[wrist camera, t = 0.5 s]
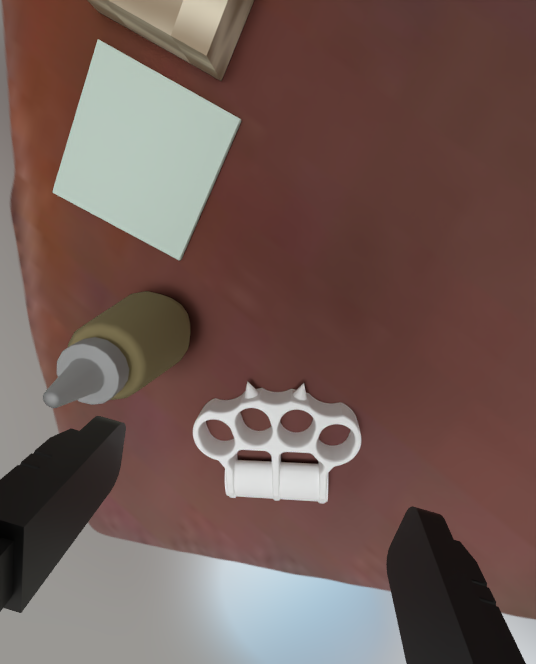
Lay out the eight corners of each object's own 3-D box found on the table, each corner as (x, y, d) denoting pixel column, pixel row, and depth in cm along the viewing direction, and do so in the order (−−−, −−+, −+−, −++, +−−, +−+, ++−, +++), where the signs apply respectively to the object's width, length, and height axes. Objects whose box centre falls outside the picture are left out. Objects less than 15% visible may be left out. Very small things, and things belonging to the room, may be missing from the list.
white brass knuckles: (206, 482, 45) (197, 373, 41) (353, 491, 43) (360, 377, 39) (198, 502, 42) (187, 386, 38) (357, 512, 40) (364, 391, 36)
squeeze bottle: (124, 283, 38) (-25, 332, 21) (199, 286, 37) (108, 338, 20) (131, 355, 40) (2, 452, 23) (202, 359, 40) (122, 462, 23)
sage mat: (101, 42, 32) (97, 39, 31) (241, 120, 33) (240, 119, 32) (56, 192, 36) (52, 192, 36) (181, 259, 37) (179, 260, 36)
